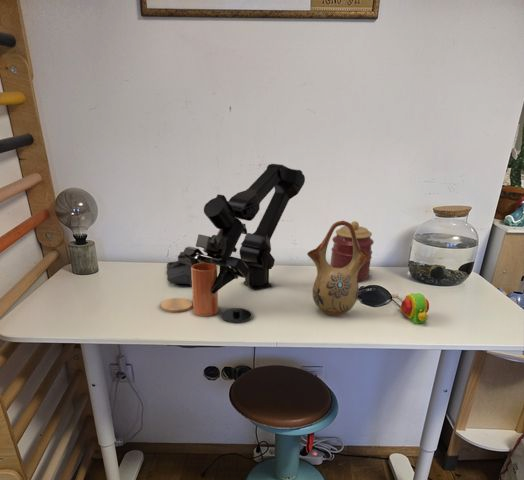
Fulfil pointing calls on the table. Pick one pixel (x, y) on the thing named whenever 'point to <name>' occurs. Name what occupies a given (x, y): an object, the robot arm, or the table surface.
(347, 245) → the kitchen canister
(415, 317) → the toy measuring tape
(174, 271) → the dark slate chunk
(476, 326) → the table surface
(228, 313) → the lid
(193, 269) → the pot
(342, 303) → the ceramic vessel
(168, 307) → the coaster
